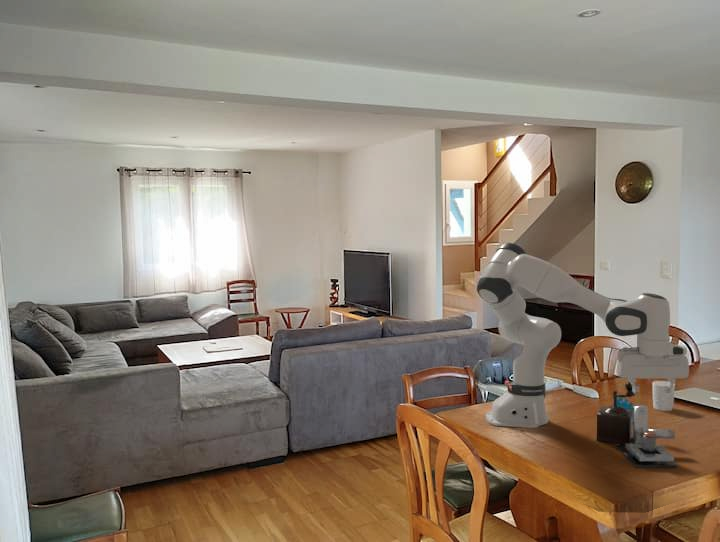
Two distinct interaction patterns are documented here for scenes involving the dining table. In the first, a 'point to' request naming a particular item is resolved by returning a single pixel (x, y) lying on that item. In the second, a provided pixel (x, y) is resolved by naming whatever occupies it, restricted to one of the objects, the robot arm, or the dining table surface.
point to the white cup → (662, 396)
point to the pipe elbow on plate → (636, 449)
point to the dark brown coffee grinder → (616, 421)
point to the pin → (649, 442)
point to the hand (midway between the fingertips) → (651, 392)
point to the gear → (625, 405)
